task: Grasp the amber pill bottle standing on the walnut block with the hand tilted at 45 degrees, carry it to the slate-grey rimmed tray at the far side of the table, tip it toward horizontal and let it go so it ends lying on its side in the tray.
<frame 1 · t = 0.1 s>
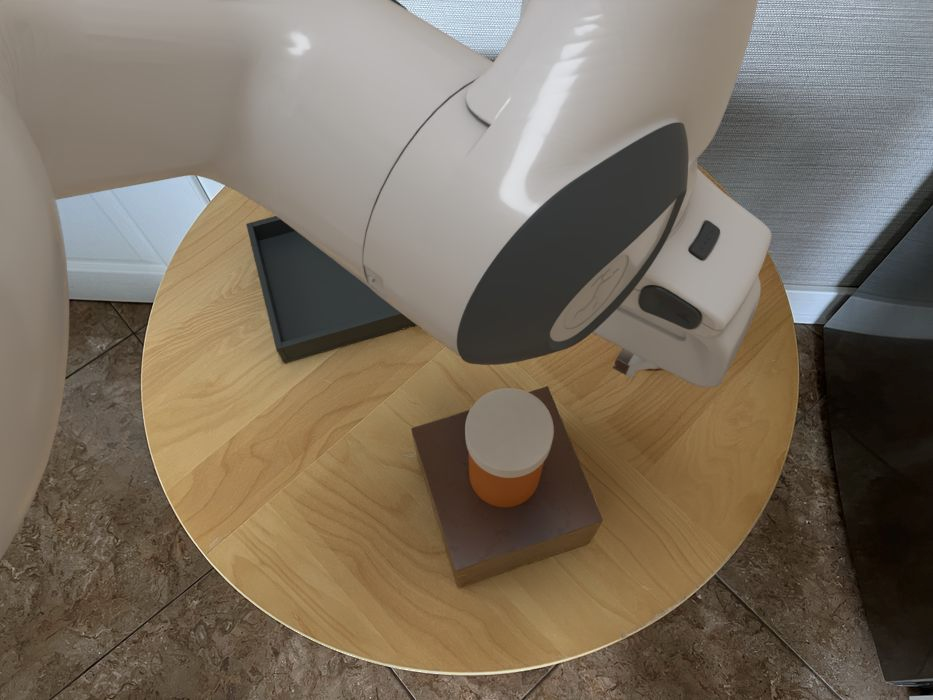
hand: (564, 332, 51), 21 cm above the table, tool pointing down, fingers open, 8 cm apart
slate tray: (350, 276, 78), on the table
pill bottle: (650, 345, 74), on the table
decorative fruit: (567, 217, 81), on the table
walnut block: (501, 500, 67), on the table
amber pill bottle: (504, 473, 60), point 8 cm above the table, touching walnut block
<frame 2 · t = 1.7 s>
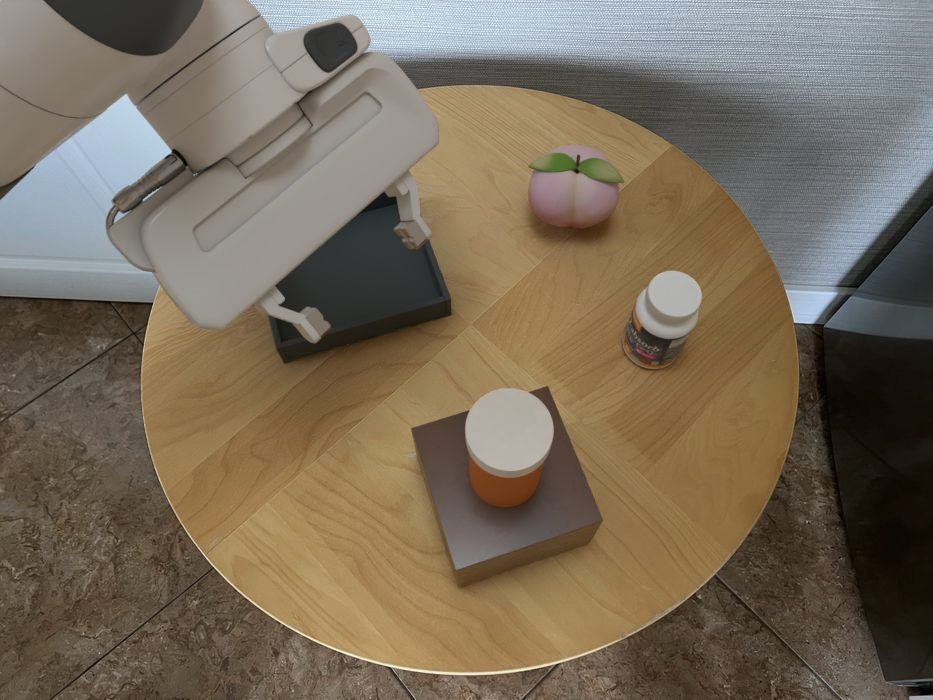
hand: (372, 287, 50), 23 cm above the table, tool tilted 45°, fingers open, 8 cm apart
nothing on the table moved.
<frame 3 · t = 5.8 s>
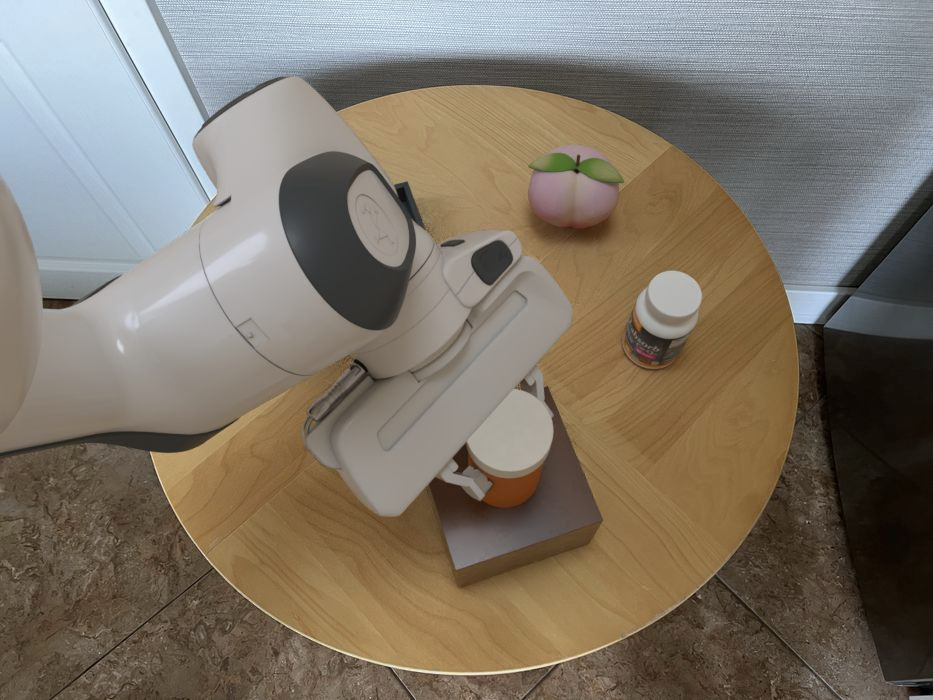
hand: (513, 455, 55), 13 cm above the table, tool tilted 45°, fingers closed on amber pill bottle, 5 cm apart
amber pill bottle: (504, 473, 60), point 8 cm above the table, touching gripper, walnut block
everything else where it was.
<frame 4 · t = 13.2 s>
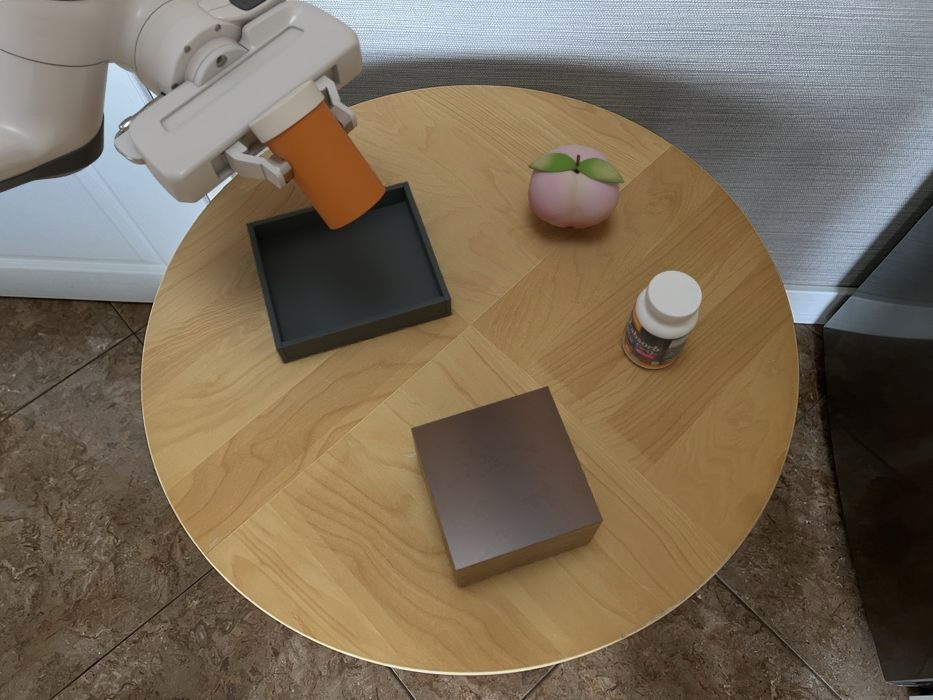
hand: (319, 151, 59), 20 cm above the table, tool horizontal, fingers closed on amber pill bottle, 5 cm apart
amber pill bottle: (357, 208, 62), point 16 cm above the table, tilted 44°, touching gripper
everything else where it was.
when the fingers open (7 cm above the table, at t = 17.6 s): amber pill bottle moves 2 cm and tips over, resting on slate tray.
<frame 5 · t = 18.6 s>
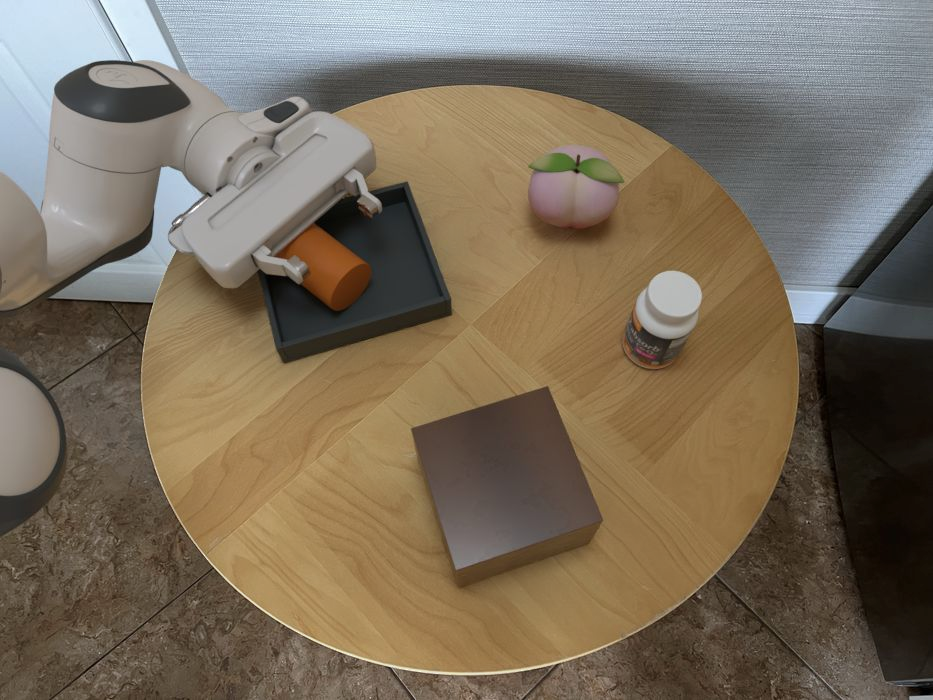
hand: (341, 243, 70), 8 cm above the table, tool horizontal, fingers open, 8 cm apart
amber pill bottle: (351, 287, 73), point 3 cm above the table, tilted 89°, touching slate tray
everything else where it was.
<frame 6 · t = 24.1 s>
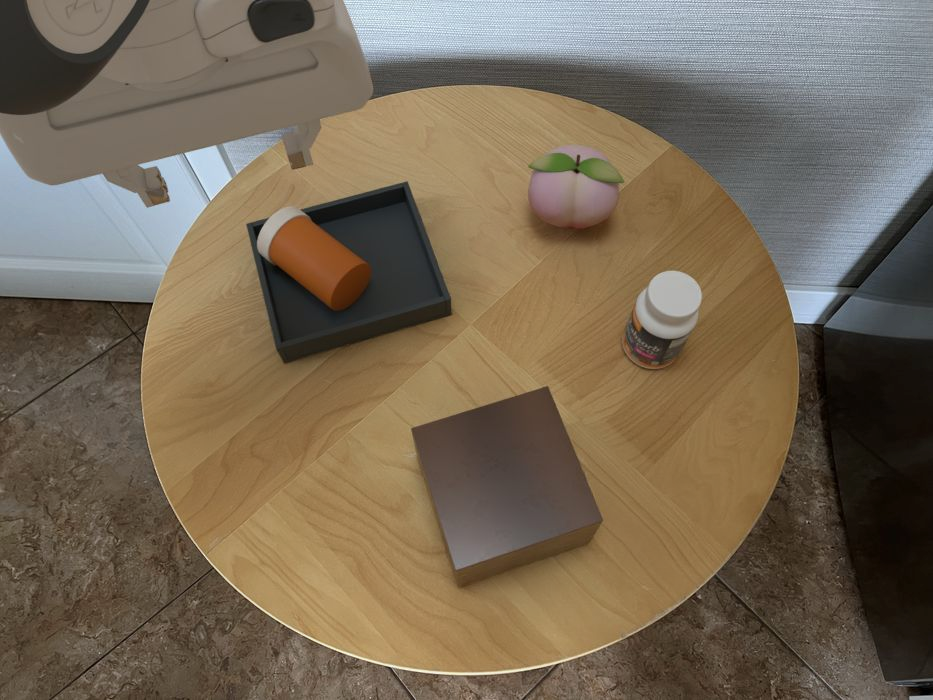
hand: (230, 178, 49), 27 cm above the table, tool pointing down, fingers open, 8 cm apart
nothing on the table moved.
at the end: amber pill bottle tilted 89°; amber pill bottle inside the target area on the slate tray (3.5 cm from its centre), point 3.4 cm above the slate tray's base; the gripper is holding nothing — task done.
